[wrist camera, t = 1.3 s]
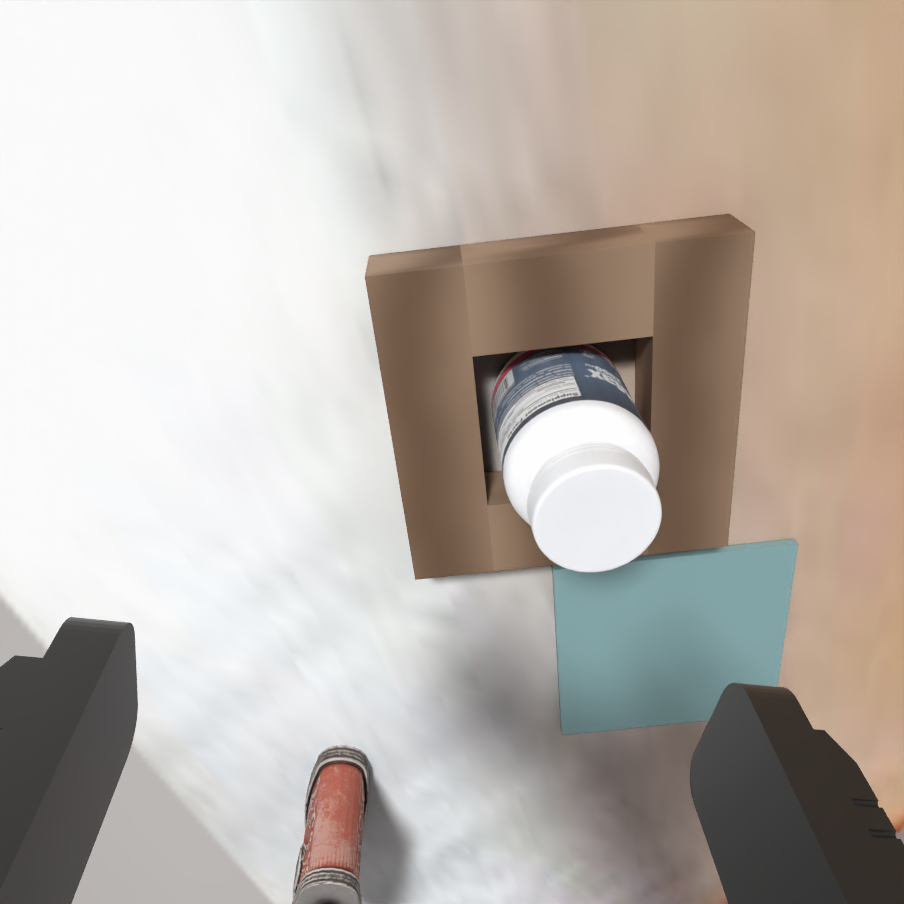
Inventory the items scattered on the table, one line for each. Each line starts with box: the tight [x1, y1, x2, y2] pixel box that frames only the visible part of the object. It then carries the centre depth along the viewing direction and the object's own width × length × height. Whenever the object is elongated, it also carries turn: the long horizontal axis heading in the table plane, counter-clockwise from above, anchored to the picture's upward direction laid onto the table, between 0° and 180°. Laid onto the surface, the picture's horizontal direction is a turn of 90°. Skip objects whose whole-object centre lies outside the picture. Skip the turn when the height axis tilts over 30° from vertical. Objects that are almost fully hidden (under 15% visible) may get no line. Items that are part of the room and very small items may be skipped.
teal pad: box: [552, 539, 798, 735], centre depth 38 cm, size 11×11×1 cm
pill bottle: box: [491, 344, 662, 572], centre depth 28 cm, size 5×5×9 cm
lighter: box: [292, 746, 370, 904], centre depth 39 cm, size 8×3×10 cm, turn 170°
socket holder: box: [365, 214, 755, 580], centre depth 30 cm, size 13×13×2 cm
